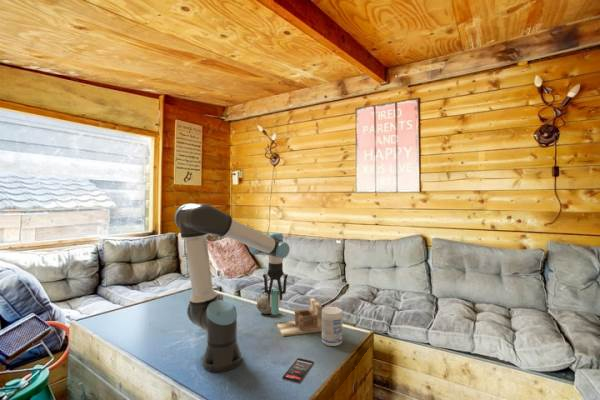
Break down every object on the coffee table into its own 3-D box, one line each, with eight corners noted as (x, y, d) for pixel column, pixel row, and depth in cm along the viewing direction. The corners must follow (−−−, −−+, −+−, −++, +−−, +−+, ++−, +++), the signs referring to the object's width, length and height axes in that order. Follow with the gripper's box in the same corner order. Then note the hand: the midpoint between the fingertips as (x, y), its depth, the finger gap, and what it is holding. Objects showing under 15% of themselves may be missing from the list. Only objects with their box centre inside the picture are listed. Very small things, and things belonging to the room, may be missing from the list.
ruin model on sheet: (204, 306, 185) (204, 290, 185) (208, 304, 188) (207, 289, 188) (220, 309, 181) (220, 293, 181) (223, 307, 184) (223, 291, 183)
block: (316, 327, 152) (316, 315, 151) (299, 329, 149) (299, 317, 149) (311, 320, 160) (311, 308, 160) (294, 322, 158) (294, 310, 158)
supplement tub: (337, 349, 133) (337, 315, 133) (318, 343, 138) (317, 311, 137) (345, 339, 141) (345, 308, 141) (326, 335, 146) (326, 304, 146)
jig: (322, 330, 150) (321, 306, 150) (282, 336, 145) (282, 311, 144) (313, 320, 163) (313, 298, 162) (277, 325, 157) (276, 302, 157)
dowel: (278, 314, 159) (278, 292, 159) (270, 314, 159) (270, 291, 159) (279, 312, 163) (279, 289, 163) (272, 311, 163) (272, 289, 163)
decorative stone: (277, 312, 174) (277, 294, 174) (269, 317, 167) (269, 299, 167) (263, 309, 179) (262, 292, 179) (254, 314, 172) (254, 296, 171)
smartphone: (281, 378, 112) (297, 357, 125) (281, 380, 112) (297, 359, 125) (299, 382, 109) (314, 361, 123) (299, 384, 109) (314, 363, 123)
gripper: (292, 261, 164) (291, 304, 164) (261, 260, 165) (261, 303, 165) (290, 264, 156) (289, 309, 156) (258, 263, 158) (258, 308, 158)
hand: (275, 306), depth 161 cm, fingers closed on dowel, 4 cm apart
